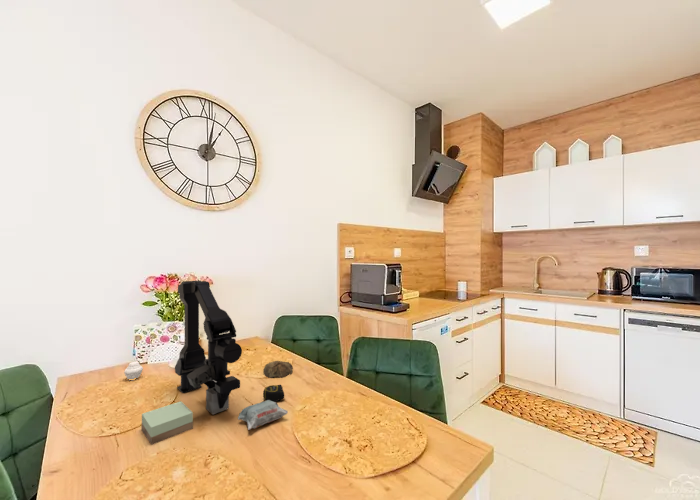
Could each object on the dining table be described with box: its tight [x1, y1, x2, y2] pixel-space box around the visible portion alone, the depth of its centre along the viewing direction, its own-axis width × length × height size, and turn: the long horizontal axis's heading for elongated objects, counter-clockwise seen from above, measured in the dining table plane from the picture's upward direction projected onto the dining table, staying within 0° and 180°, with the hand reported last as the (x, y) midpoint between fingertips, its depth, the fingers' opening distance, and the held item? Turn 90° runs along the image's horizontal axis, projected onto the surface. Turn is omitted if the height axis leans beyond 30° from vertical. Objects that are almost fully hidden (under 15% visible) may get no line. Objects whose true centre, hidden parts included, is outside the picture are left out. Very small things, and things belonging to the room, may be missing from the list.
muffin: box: [123, 360, 144, 380], centre depth 119 cm, size 6×6×7 cm
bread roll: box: [263, 360, 294, 379], centre depth 126 cm, size 13×12×5 cm
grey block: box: [205, 387, 230, 415], centre depth 94 cm, size 5×5×6 cm
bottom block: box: [140, 422, 194, 445], centre depth 84 cm, size 10×10×2 cm
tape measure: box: [262, 384, 285, 402], centre depth 102 cm, size 7×7×4 cm
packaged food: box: [237, 400, 288, 431], centre depth 87 cm, size 9×12×5 cm
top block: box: [141, 400, 194, 437], centre depth 84 cm, size 10×10×2 cm
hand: (217, 405), depth 94 cm, fingers closed on grey block, 5 cm apart
